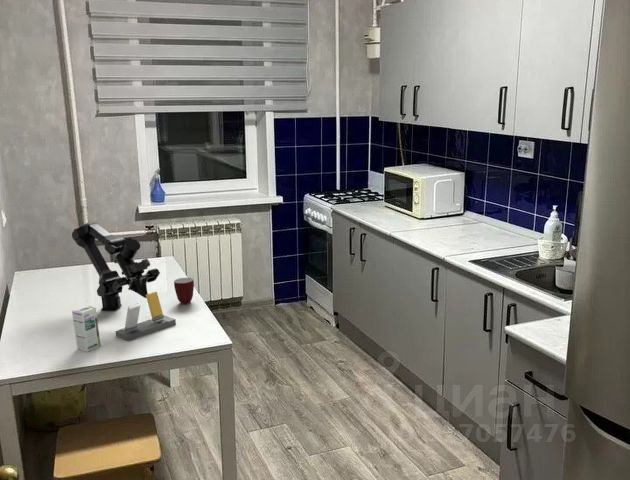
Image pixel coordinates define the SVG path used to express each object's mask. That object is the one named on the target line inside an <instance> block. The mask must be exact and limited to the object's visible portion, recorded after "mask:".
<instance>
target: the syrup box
mask: <svg viewBox="0 0 630 480" xmlns="http://www.w3.org/2000/svg"><path fill="white" fill-rule="evenodd" d="M71 314H72V323H73V327H74V335H75V341H76V342H75V343H76V348H77V350H80V351H84V352H89V351H91V350H93V349H94V350H95V349H96V348H99V347H101V346H102V345H101V339H100V330H99V325H98V317H97V308H96V307H94V306H91V305H84V306H81V307H79V308H76V309H72V310H71Z"/></svg>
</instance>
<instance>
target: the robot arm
mask: <svg viewBox="0 0 630 480" xmlns="http://www.w3.org/2000/svg"><path fill="white" fill-rule="evenodd" d="M71 236H72V237H71V238H72V239H73V240H74V241H75V243H76V245H77V246H79V247H81V248H82V249H84V252H85V253H86V255H87V256H88V258H89V260H90V262H91V264H92V266H93V268H94V269H95V271H96V273H97V274H98V277H99V279H98V288H97V289H96V294H97V296H99V297H100V298H101V305H102V307H101V309H100V311H117V310H118V309H120V307H122V306H123V305H122V304H121V303H122V302H121V296H120V295H119V294H120V293H122V292H123V287H124V286H128V289H127V290H128V291H132V292H134V293H136V294H138V295H139V296H141V297H142V298H144V299H147V298H146V295H147V294H149V293H148V287H147V283H148V284H149V283H153V282H155V281H156V280H157V278H158V277H159V276H160V274H161V272H160V270H159V269H158V268H152V269H149V267H150V266H151V262H150V261H149V259H148V258H144V259H141V261H139V262H137V261H134V258H135V257H136V255H137V253H138V252H139V250H140V248H141V242H139V241H138V240H137V239H134V238H132V237H131V236H127V237H125V238H124V237H121V236H119V235H113V234H112V233H110V232H109V231H108V230H107V229H105V228H103V227H102V226H101V225H99V223H98V222H97V221H92V222H87V223H85V224H83V225H81V226H79V227H77V228H74V229H73V231H72V233H71ZM96 240H98V241H99V242H100V243H102V244H103V246H104V250H105V251H106V252H107V253H108V254H109V255H111V256H112V255H116V256H114V261H113V262H114V264H117V265H118V266H119V268H120V269H121V275H122V276H120V275H119V273H118V271H117V270H111V268H110V267H109V265H108V264H107V263H108V262H107V261H106V260H105V258H104V256H103V254H102V253H101V251H100V249H99V247H98V245H97V244H96ZM148 269H149V270H148ZM145 270H147V271H146V273H145ZM144 273H145V274H144ZM123 275H124V276H123Z"/></svg>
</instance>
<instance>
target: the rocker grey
mask: <svg viewBox="0 0 630 480" xmlns="http://www.w3.org/2000/svg"><path fill="white" fill-rule="evenodd" d="M126 310H127V312H126V316H125V317H126V318H125V324H124V325H125V326H124V330H125V331H129V330H131V329H134V328H137V324H138V323H139V321H138V320H139V316H140V310H141V305H140V304H139V303H134V304H131V305H128V306H127V309H126Z"/></svg>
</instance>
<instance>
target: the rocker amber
mask: <svg viewBox="0 0 630 480" xmlns="http://www.w3.org/2000/svg"><path fill="white" fill-rule="evenodd" d="M145 299H146V301H147V304H148V305H147V306H148V309H149V311H150V316H151V319H152V321H153V322H154V321H157V320H160V319H163V318H164V315H165V314H164V313H163V310H162V306H161V302H160V299H159V295H158V292H157V291H154V292H151V293H148V294H147V295H146V298H145Z"/></svg>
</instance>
